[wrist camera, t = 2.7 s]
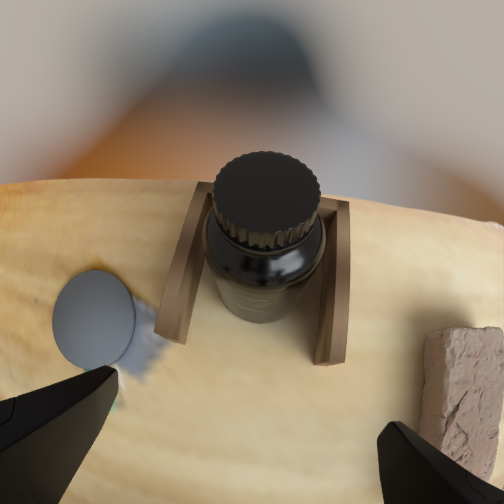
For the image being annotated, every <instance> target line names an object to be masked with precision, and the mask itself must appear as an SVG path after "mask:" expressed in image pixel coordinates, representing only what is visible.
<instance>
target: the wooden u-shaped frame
mask: <svg viewBox="0 0 504 504" xmlns="http://www.w3.org/2000/svg"><path fill="white" fill-rule="evenodd" d="M212 191H213V183H209V182H198V184H197V187H196V189H195V192H194V195H193V198H192V201H191V204H190V207H189V210H188V213H187V216H186V219H185V222H184V225H183V228H182V231H181V235H180V238H179V241H178V244H177V248H176V251H175V254H174V258H173V261H172V264H171V268H170V271H169V275H168V279H167V282H166V286H165V290H164V293H163V297H162V301H161V305H160V309H159V313H158V317H157V321H156V325H155V329H154V333H156V334H158V335H160V336H162V337H164V338H166V339H168V340H170V341H172V342H175V343H180V344H184V345H185V342H186V337H187V333H188V328H189V323H190V319H191V314H192V310H193V306H194V301H195V297H196V293H197V288H198V284H199V280H200V276H201V272H202V268H203V264H204V260H205V256H206V255H205V251H204V247H203V241H202V232H203V225H204V221H205V219H206V216H207V214H208V212H209V210H210V209H211V207H212V206H213V197H212ZM318 212H319V213H320V215H321V218H322V220H323V223H324V227H325V234H326V242H325V249H324V256H323V274H322V289H321V302H320V313H319V324H318V334H317V343H316V352H315V360H314V365H320V366H329V365H334V364H339V363H344V362H345V355H346V344H347V331H348V316H349V295H350V213H349V202H347V201H341V200H336V199H330V198H324V197H321V198H320V207H319V210H318Z"/></svg>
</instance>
